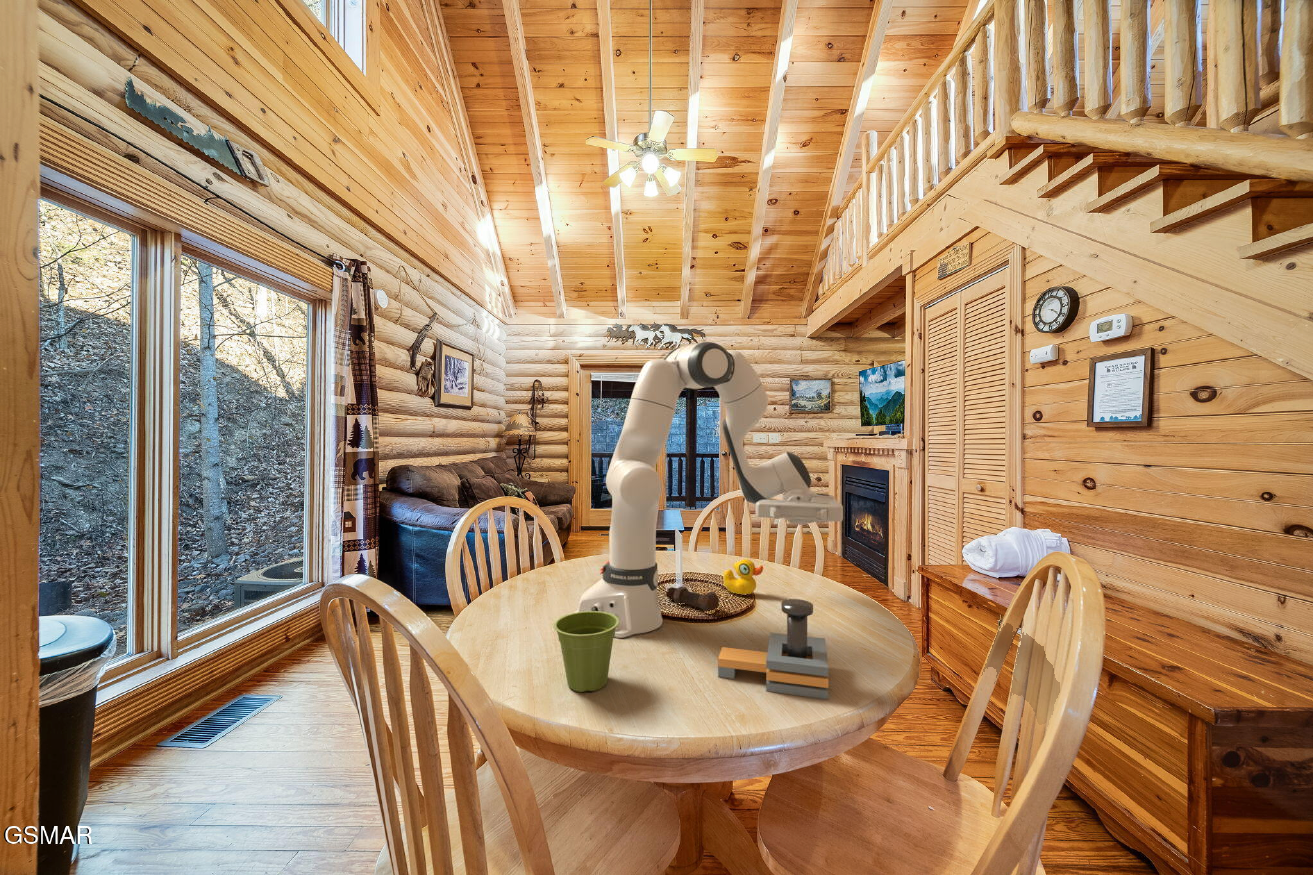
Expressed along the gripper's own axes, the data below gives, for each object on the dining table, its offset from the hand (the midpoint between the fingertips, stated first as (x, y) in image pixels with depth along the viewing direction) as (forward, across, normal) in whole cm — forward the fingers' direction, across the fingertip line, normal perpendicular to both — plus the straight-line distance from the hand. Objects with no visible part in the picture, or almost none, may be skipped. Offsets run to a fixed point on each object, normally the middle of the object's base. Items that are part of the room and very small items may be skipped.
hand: (798, 515), depth 114 cm
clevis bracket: (+23, -4, +27) cm, 35 cm away
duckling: (-21, -15, +27) cm, 37 cm away
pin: (+24, 0, +27) cm, 36 cm away
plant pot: (+35, -37, +27) cm, 58 cm away
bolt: (-9, -27, +27) cm, 39 cm away
